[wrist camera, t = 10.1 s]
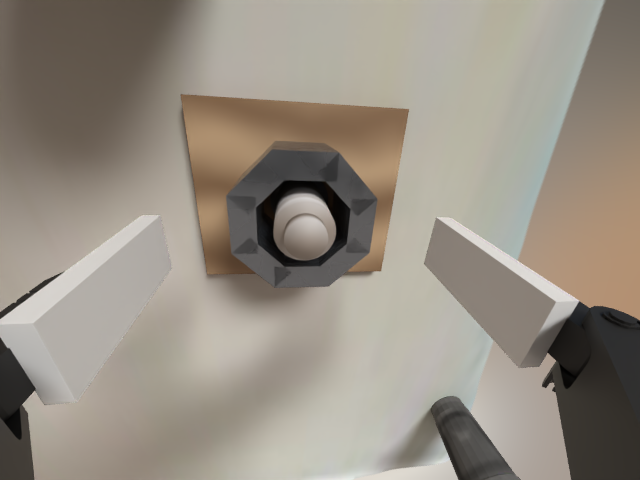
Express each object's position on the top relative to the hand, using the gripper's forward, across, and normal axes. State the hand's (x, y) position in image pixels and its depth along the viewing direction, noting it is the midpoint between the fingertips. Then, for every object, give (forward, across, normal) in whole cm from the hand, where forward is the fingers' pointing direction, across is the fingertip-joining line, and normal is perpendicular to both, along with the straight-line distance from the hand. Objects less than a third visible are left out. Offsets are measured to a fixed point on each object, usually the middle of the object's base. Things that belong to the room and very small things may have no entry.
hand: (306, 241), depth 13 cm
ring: (+9, 0, -1) cm, 9 cm away
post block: (+10, 0, -1) cm, 10 cm away
